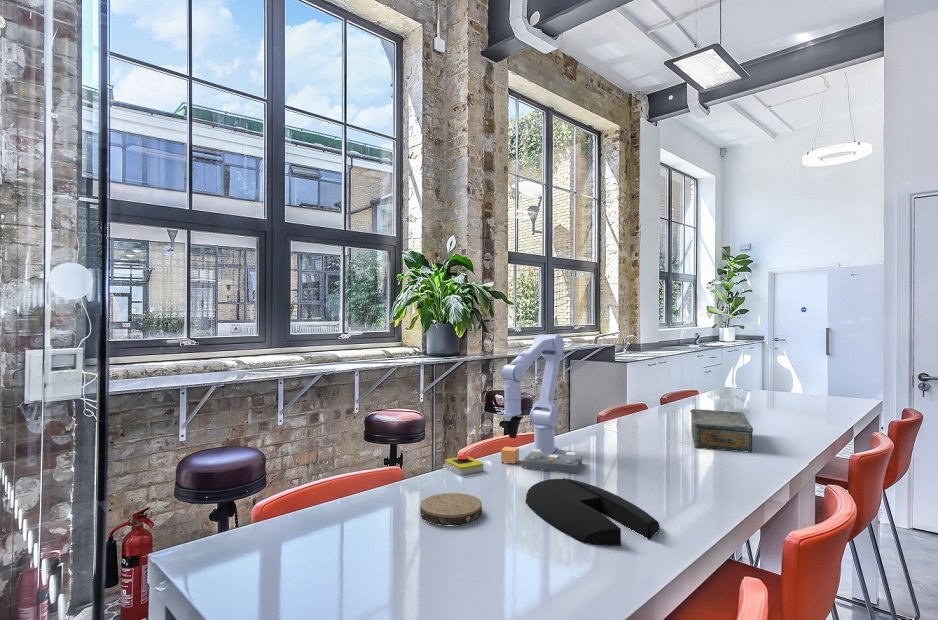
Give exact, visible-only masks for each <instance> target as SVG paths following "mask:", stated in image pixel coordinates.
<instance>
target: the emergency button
mask: <svg viewBox="0 0 938 620" xmlns="http://www.w3.org/2000/svg"><path fill="white" fill-rule="evenodd" d="M453 466H454V467H453ZM442 467H443V468H444V469H446V468H448V469H447V470H448V471H450V472H452V473H453V472H454V473H453V474H455V475H457V476H458V477H461V478H463V477H464V478H466V479H467V478H471V476H472V477H476V475H477V476H481V474H483V475H487V474H488V472H487V471H486V470H484V469H485V468H484V463H483V462H482V461H479V460H477V459H475V458H473V457H471V456H468V455H459V456H458V457H457V456H456V457H452V458H450V457H449V458H446V459H445V460H444V465H443V466H442ZM450 467H451V468H450ZM449 469H451V470H449ZM486 473H487V474H486Z"/></svg>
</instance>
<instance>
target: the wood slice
mask: <svg viewBox="0 0 938 620" xmlns="http://www.w3.org/2000/svg"><path fill="white" fill-rule="evenodd" d="M482 505H483V503H482V501H481V499H480V498H478V497H476V496H475V495H471V494H469V493H459V492H445V493H437V494H434V495H430V496H428V497H425V498H424V499H423V500H421V503H420V508H419V509H420V513H419V514H421V515H420V517H422V518H423V519H424V520H426V521H428V522H431V523H434V524H441V525H460V526H463V525H462V524H466V525H468V524H467V523H470V524H472V523H474V522H473V521H475V520H477V519H478V518H479V517H480V516H481V517H482V515H481V514H482V513H483V510H482V509H483V506H482ZM481 517H480V518H481ZM422 518H421V519H422ZM480 518H479V519H480ZM423 519H422V520H423ZM479 519H478V520H479ZM424 520H423V521H424ZM478 520H477V521H478ZM426 521H425V522H426ZM428 522H427V523H428ZM471 522H472V523H471ZM475 522H476V521H475ZM431 523H430V524H431Z"/></svg>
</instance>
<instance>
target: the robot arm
mask: <svg viewBox="0 0 938 620" xmlns="http://www.w3.org/2000/svg"><path fill="white" fill-rule="evenodd" d="M564 347H565V342H564V339H563V337H562V335H561V334H541V333H538V334H537V335H536V336H535V337H534V338H533V343H532V345H531V346H530V347H529V348H528V349H527V351H525V352H523V351H522V352H519V353H518V355H517V356H516V358H514V359H513V360H512V361H511V362H510V363H509V364H505V365H504V366H503V367H502V369H501V372H500V378H501V379H502V384H503V386H504V390H503V391H504V392H503V394H504V410H501V411H500V413H501V414H504V415H503V422H504V423H505V425H506V426H505V427H506V428H507V433H508V437H509V439H516V438H517V436H518V435H517V434H518V430H519V426H520V424H521V421H522V419H523V417H522V416H520V415H521V414H522V409H521V408H522V401H521V400H522V393H521V392H522V391H521V390H522V389H521V388H522V386H521V385H522V383H521V382H522V381H523V379H524V377H525V374H526V372H527V370H528V369H530V367H531V366H533V363H534V359H535V358H536V357H537V356H539V355H540V356H541V357H543V358H544V359H545V366H544V370H543V377H542V382H541V387H540V392H539V400H537V401H536V402H534V403H533V404H532V408H531V409H530V412H529V415H528V418H529V422H530V424H531V425H532V428H533V431H534V435H533V437H534V438H533V439H534V440H533V441H534V442H533V443H534V445H533V447H534V448H533V449H539V450H541V452H542V453H550V454H552V453H553V452H554V453H555V452H556V450H558V446H556V445H555V444H556V443H555V442H556V441H555V438H556V437H555V429H554V428H556V427H557V425H558V423H559V408H558V407H557V406H556V404H555V403H554V398H555V391H556V386H557V380H558V377H559V376H558V374H559V369H560V363H561V358H563V354H564ZM554 453H553V454H554Z"/></svg>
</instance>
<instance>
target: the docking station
mask: <svg viewBox="0 0 938 620" xmlns="http://www.w3.org/2000/svg"><path fill="white" fill-rule="evenodd" d="M525 496H526V498H525V504H526V505H527V507H528V508H529V509H531V511H533V512H534V513H535V515H537V516H538V517H539V518H540V519H542V520H543V521H544V522H546V523H547V524H549V525H551V526H552V527H553V528H555V529H556V530H558V531H559V532H562V533H563V534H565V535H567V536H569V537H570V536H571V538H572V539H574V540H577V541H578V542H581V543H584V544H587V543H589V545H606V546H607V545H608V546H622V545H621V544H622V533H621V532H622V529H621V527H620V526H618V525H617V524H616V523H618V522H619V523H618V524H620V523H621V524H622V525H621V524H620V525H621V526H623V525H624V526H623V527H625V526H626V527H625V528H627V527H628V528H630V529H631V530H630V529H629V530H630V531H632V530H634V531H635V532H637V533H639V534H641V535H643V536H644V537H646V538H649V539H650V538H651V539H653V537H654V536H655V535H656V534H657V533H658V532H659V531H660V523H659V521H658V520H656V519H655V518H654V517H653V516H652V515H650V514H649V513H647V512H646V511H645V510H644V509H642V508H640V507H638V506H637V505H635V504H634V503H632V502H631V501H628V499H627V500H626V499H625V498H623V497H621V496H620V495H617V494H615V493H613V492H611V491H608V490H606V489H603V488H601V487H599V486H596V485H593V484H590V483H587V482H583V481H580V480H576V479H571V478H551V479H549V478H548V479H545V480H542V481H539V482H536V483H535V484H533V485H532V486H531V487H530V488H528V490H527V492H526V494H525ZM602 513H603V514H602ZM604 514H605V515H604ZM609 517H610V518H609ZM612 520H613V521H614V520H615V522H616V521H617V522H616V523H615V522H613V521H612ZM628 528H627V529H628ZM658 530H659V531H658ZM634 531H633V532H634ZM635 532H634V533H635ZM656 532H657V533H656ZM637 533H636V534H637ZM655 533H656V534H655ZM639 534H638V535H639ZM654 534H655V535H654ZM653 535H654V536H653ZM652 536H653V537H652ZM644 537H643V538H644ZM646 538H645V539H646Z"/></svg>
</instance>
